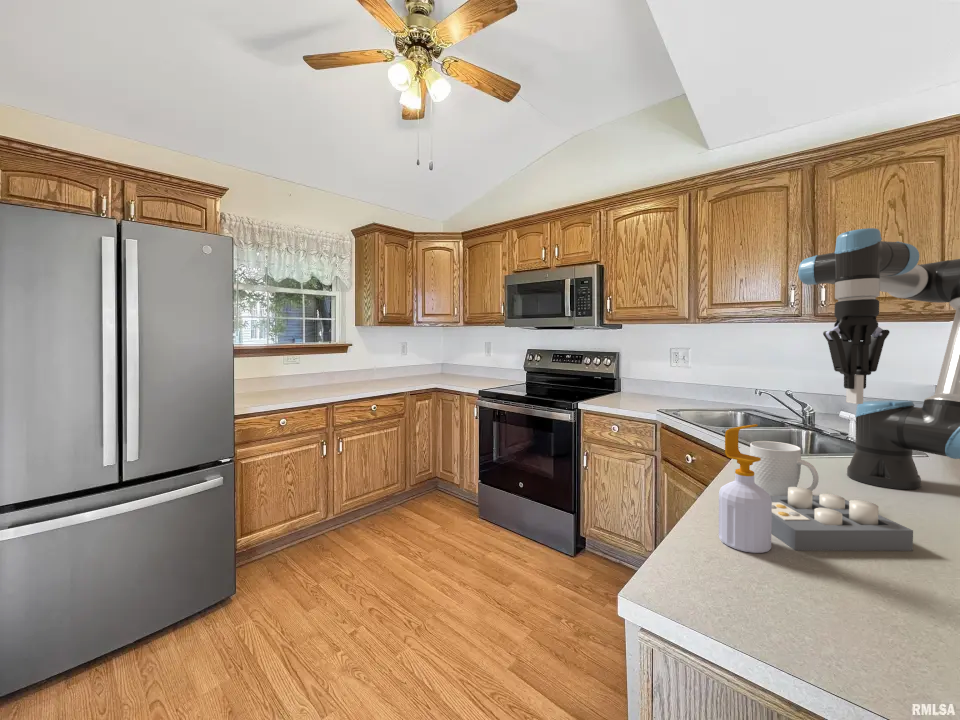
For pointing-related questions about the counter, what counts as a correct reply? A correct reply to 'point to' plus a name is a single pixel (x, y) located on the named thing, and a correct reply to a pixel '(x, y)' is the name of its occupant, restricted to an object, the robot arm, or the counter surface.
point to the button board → (835, 530)
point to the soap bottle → (744, 503)
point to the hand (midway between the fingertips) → (854, 402)
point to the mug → (778, 467)
